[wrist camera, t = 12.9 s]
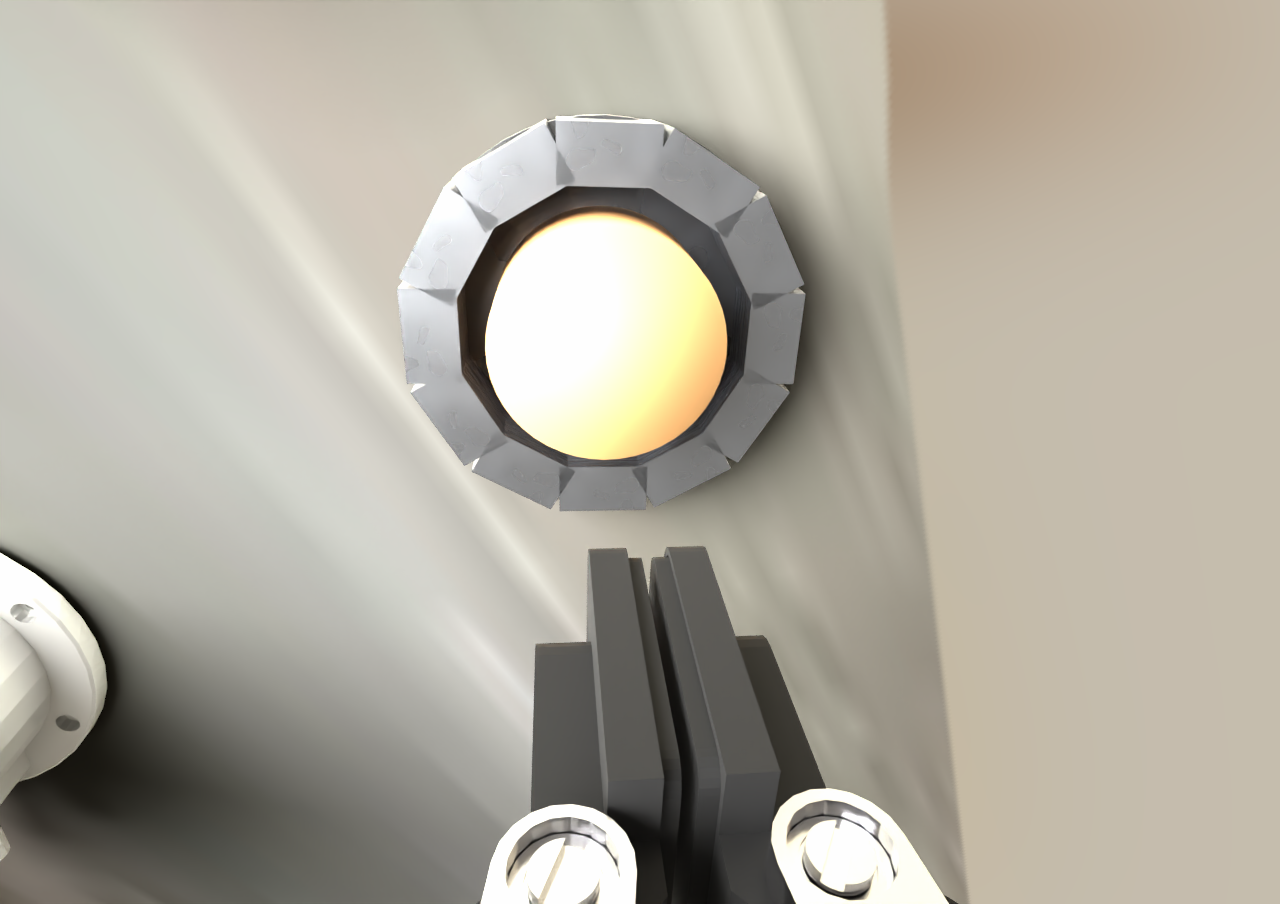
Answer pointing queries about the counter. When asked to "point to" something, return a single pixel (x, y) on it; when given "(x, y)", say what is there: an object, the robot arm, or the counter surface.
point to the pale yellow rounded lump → (604, 334)
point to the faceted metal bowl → (574, 178)
